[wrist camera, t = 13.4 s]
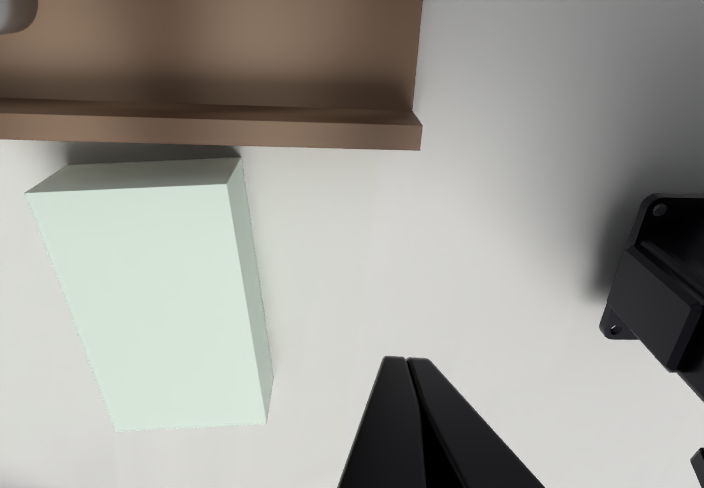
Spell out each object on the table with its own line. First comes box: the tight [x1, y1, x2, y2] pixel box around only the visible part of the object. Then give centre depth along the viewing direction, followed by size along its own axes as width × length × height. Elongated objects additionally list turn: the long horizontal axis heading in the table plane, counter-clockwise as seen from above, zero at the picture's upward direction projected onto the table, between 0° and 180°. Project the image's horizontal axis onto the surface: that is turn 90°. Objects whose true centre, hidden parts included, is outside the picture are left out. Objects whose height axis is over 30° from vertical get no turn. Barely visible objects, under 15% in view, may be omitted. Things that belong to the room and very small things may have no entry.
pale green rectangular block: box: [24, 157, 274, 432], centre depth 19 cm, size 6×11×3 cm, turn 2°
